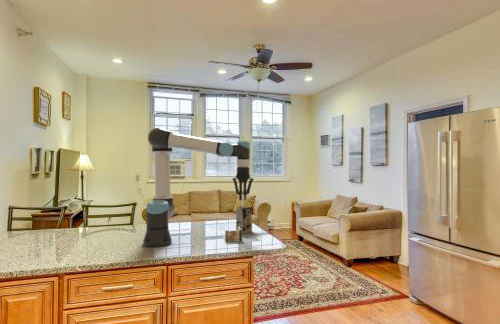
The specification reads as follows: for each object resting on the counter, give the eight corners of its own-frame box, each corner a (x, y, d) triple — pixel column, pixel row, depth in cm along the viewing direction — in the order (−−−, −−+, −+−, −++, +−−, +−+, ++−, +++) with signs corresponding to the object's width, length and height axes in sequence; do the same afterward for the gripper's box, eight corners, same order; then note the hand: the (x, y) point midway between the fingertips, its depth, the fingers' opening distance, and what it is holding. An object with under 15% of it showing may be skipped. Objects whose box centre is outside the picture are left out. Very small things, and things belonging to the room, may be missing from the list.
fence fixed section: (225, 241, 178) (225, 230, 178) (225, 241, 180) (225, 230, 180) (242, 240, 180) (242, 229, 181) (241, 240, 182) (241, 229, 182)
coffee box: (243, 233, 200) (243, 208, 201) (235, 232, 204) (235, 207, 204) (252, 231, 208) (252, 206, 208) (244, 230, 212) (244, 205, 212)
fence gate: (241, 239, 182) (241, 229, 182) (239, 239, 182) (239, 229, 182) (239, 235, 192) (239, 226, 192) (237, 235, 192) (237, 226, 192)
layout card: (225, 243, 176) (225, 242, 176) (221, 236, 192) (221, 235, 192) (260, 241, 180) (260, 240, 180) (253, 235, 196) (253, 234, 196)
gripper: (252, 166, 196) (251, 204, 196) (231, 166, 193) (230, 205, 193) (255, 167, 189) (254, 206, 188) (233, 166, 185) (232, 206, 185)
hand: (242, 205), depth 191 cm, fingers closed
